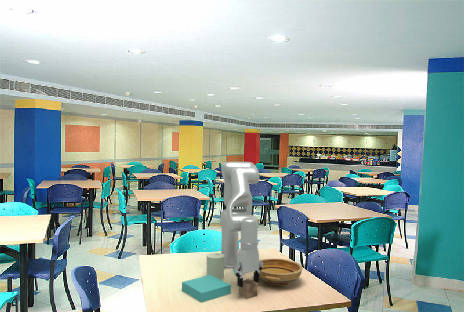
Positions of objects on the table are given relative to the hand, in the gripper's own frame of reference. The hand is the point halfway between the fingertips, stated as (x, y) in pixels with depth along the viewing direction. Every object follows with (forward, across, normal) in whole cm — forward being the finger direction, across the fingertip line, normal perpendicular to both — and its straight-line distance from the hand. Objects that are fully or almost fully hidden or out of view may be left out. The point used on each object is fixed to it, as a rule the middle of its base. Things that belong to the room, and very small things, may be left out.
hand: (248, 284), depth 162 cm
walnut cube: (+5, 0, -1) cm, 5 cm away
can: (+5, -1, -27) cm, 27 cm away
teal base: (+5, +13, -15) cm, 20 cm away
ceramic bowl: (+5, -23, -4) cm, 24 cm away
